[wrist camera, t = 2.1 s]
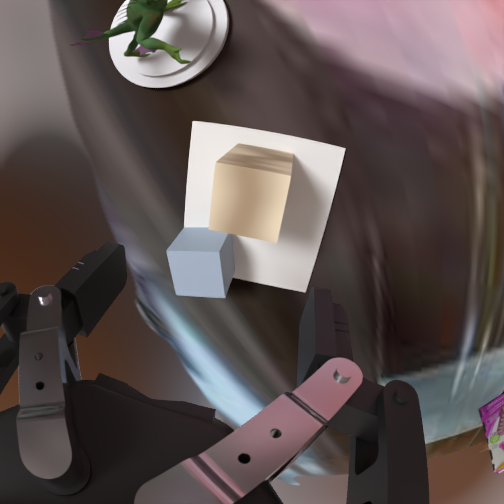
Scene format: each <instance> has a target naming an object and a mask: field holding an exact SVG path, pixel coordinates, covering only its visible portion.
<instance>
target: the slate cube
mask: <svg viewBox="0 0 504 504" xmlns="http://www.w3.org/2000/svg"><path fill="white" fill-rule="evenodd" d="M167 256H168V261H169V265H170V270H171V274H172V278H173V283H174V287H175V291H176V295H183V296H198V297H214V298H225V297H226V294H227V291H228V289H229V286H230V283H231V280H232V277H233V274H234V272H235V264H234V254H233V243H232V234H229V233H224V232H219V231H214V230H209V227H184V229H183V230H182V231H181V232H180V234H179V235H178V236H177V238H176V239H175V240H174V241H173V243H172V244H171V245H170V247H169V248H168V249H167Z"/></svg>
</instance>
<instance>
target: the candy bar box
mask: <svg viewBox="0 0 504 504" xmlns="http://www.w3.org/2000/svg"><path fill="white" fill-rule="evenodd" d="M479 413H480V416H481V420H482V423H483V427H484V431H485V435H486V439H487V442H488V447H489V450H490V455H491V460H492V465H493V470H494V472H495V473H497V474H498V473H500V472H502V471H504V393H503V394H501V395H500V396H498V397H497V398H495V399H494V400H492V401H491V402H489V403H488V404H486V405H485V406H483V407H482V408H480V409H479Z"/></svg>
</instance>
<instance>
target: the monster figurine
mask: <svg viewBox="0 0 504 504" xmlns="http://www.w3.org/2000/svg"><path fill="white" fill-rule="evenodd" d="M86 31H88V32H89V35H88V36H86V37H84V38H81V39H80V41H79V42H78V43H75V44H71V45H83V44H88V43H91V42H94V41H97V40H101V39H105V38H109V48H110V53H111V57H112V60H113V62H114V64H115V66H116V68H117V69H118V71H119V72H120V73H121V74H122V75H123V76H124V77H125V78H127V79H128V80H130V81H131V82H133V83H135V84H137V85H140V86H144V87H151V88H165V87H172V86H177V85H179V84H182V83H185V82H187V81H189V80H191V79H193V78H195V77H196V76H198V75H199V74H201V73H202V72H203V71H204V70H206V69H207V68H208V67H209V66H210V65H211V64H212V63H213V61H214V60H215V59H216V58H217V56H218V55H219V53H220V52H221V50H222V48H223V46H224V44H225V41H226V39H227V35H228V31H229V15H228V10H227V7H226V4H225V2H224V0H126V1H125V2H124V3H123V5H122V6H121V8H120V9H119V11H118V12H117V13H116V16H115V18H114V21H113V23H112V26H111V30H109V31H106V32H104V33H102V32H101V31H98V30H86Z"/></svg>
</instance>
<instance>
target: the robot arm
mask: <svg viewBox="0 0 504 504" xmlns="http://www.w3.org/2000/svg"><path fill="white" fill-rule="evenodd" d="M126 280H127V270H126V258H125V248H124V246H123V245H120V244H116V243H111V242H106V243H105V244H104V245H103V246H102V247H100V248H99V249H98V250H97V251H96V250H95V251H93V252H91V253H89V254H87V255H85V256H84V257H83V258H82V259H81V260H80V261H79V263H77V264H76V265H75V266H74V267H73V268H72V269H71V270H69V271H68V272H67V274H65V276H63V277H62V278H61V279H60V280H59V281H58V282H57V284H55V286H52V285H45V286H42V287H39V288H37V289H36V290H34V291H33V292H32V293H31V295H30V294H18V292H17V289H16V286H15V285H14V284H13V283H11V282H3V283H0V326H1V325H2V327H3V330H4V332H5V333H4V335H3V336H2V337H1V338H0V394H1V393H2V391H3V389H4V388H5V386H6V384H7V383H8V381H9V379H10V378H11V376H12V375H13V373H14V371H15V370H16V369H17V367H18V365H19V403H20V404H19V405H16V406H14V407H11V408H9V409H6V410H4V411H2V412H0V504H283V502H282V501H281V499H280V498H279V497H278V495H277V493H276V492H275V490H274V489H273V487H272V486H271V484H270V483H272V482H273V481H274V480H275V479H276V478H277V477H278V476H280V475H281V474H282V473H283V472H284V471H285V470H286V469H287V468H288V467H289V466H290V465H291V464H292V463H293V462H294V461H295V460H296V459H297V458H298V457H299V456H300V455H301V454H302V453H303V452H304V451H305V450H306V449H307V448H308V447H309V446H310V445H311V444H312V443H313V442H314V441H315V440H316V439H317V438H318V437H319V436H320V435H321V434H322V433H323V432H324V431H325V430H326V429H327V428H328V427H331V428H333V429H336V430H338V431H341V432H343V433H346V434H349V435H350V458H349V477H348V491H347V503H346V504H429V484H428V469H427V458H426V448H425V440H424V432H423V425H422V418H421V411H420V405H419V399H418V395H417V393H416V391H415V389H414V388H413V387H412V386H411V385H409V384H408V383H406V382H404V381H400V380H393V381H390V382H389V383H387V384H386V386H385V387H384V386H382V385H379V384H377V383H374V382H371V381H369V380H367V379H365V378H364V377H363V376H362V372H361V370H360V368H359V367H358V366H357V365H356V364H355V363H354V362H353V357H352V349H351V341H350V334H349V327H348V320H347V314H346V312H345V311H344V309H343V308H342V306H341V305H340V304H334V303H332V297H331V291H330V290H327V289H322V288H317V287H312V288H311V290H310V293H309V296H308V299H307V302H306V305H305V308H304V311H303V314H302V317H301V321H300V327H299V350H298V372H297V389H296V390H295V391H293V392H292V393H289V392H286V393H284V394H282V395H281V396H280V397H278V398H277V399H276V400H275V401H273V402H272V403H271V404H270V405H268V406H267V407H266V408H264V409H263V410H262V411H261V412H259V413H258V414H257V415H255V416H254V417H253V418H251V419H250V420H249V421H247V422H246V423H245V424H243V425H242V426H241V427H239V428H238V429H236V430H235V431H234V430H233V429H232V428H231V427H229V426H228V425H227V424H225V423H224V422H222V421H220V420H218V419H216V418H215V410H216V409H212V408H208V407H203V406H199V405H196V404H192V403H188V402H183V401H167V400H156V399H151V398H148V397H147V396H145V395H143V394H142V393H140V392H139V391H137V390H136V389H134V388H132V387H130V386H129V385H128V384H126V383H124V382H122V381H119V380H116V379H114V378H111V377H109V376H106V375H104V374H101V373H99V375H98V376H97V378H96V380H82V379H81V375H80V369H79V363H78V355H77V347H76V341H75V337H76V335H77V334H80V335H82V336H85V337H88V336H89V334H90V333H91V331H92V330H93V329H94V327H95V326H96V324H97V323H98V322H99V320H100V319H101V317H102V316H103V315H104V313H105V312H106V311H107V309H108V308H109V307H110V305H111V304H112V303H113V301H114V300H115V299H116V297H117V296H118V295H119V293H120V292H121V291H122V289H123V288H124V286H125V283H126Z"/></svg>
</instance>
